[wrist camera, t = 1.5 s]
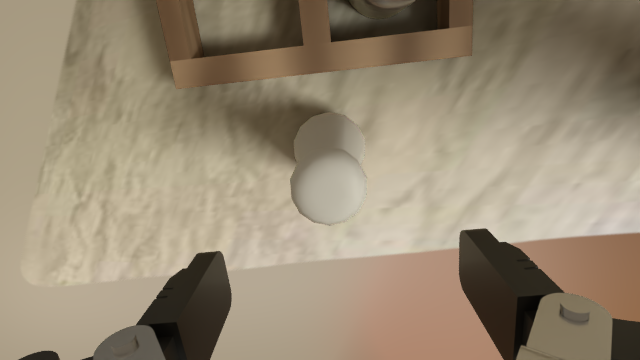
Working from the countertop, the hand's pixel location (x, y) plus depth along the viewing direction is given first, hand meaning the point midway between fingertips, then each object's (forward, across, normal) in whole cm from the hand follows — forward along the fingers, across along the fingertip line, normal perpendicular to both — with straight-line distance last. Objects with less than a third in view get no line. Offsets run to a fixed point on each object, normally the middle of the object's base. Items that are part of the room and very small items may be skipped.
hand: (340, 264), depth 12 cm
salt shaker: (+20, 0, 0) cm, 20 cm away
